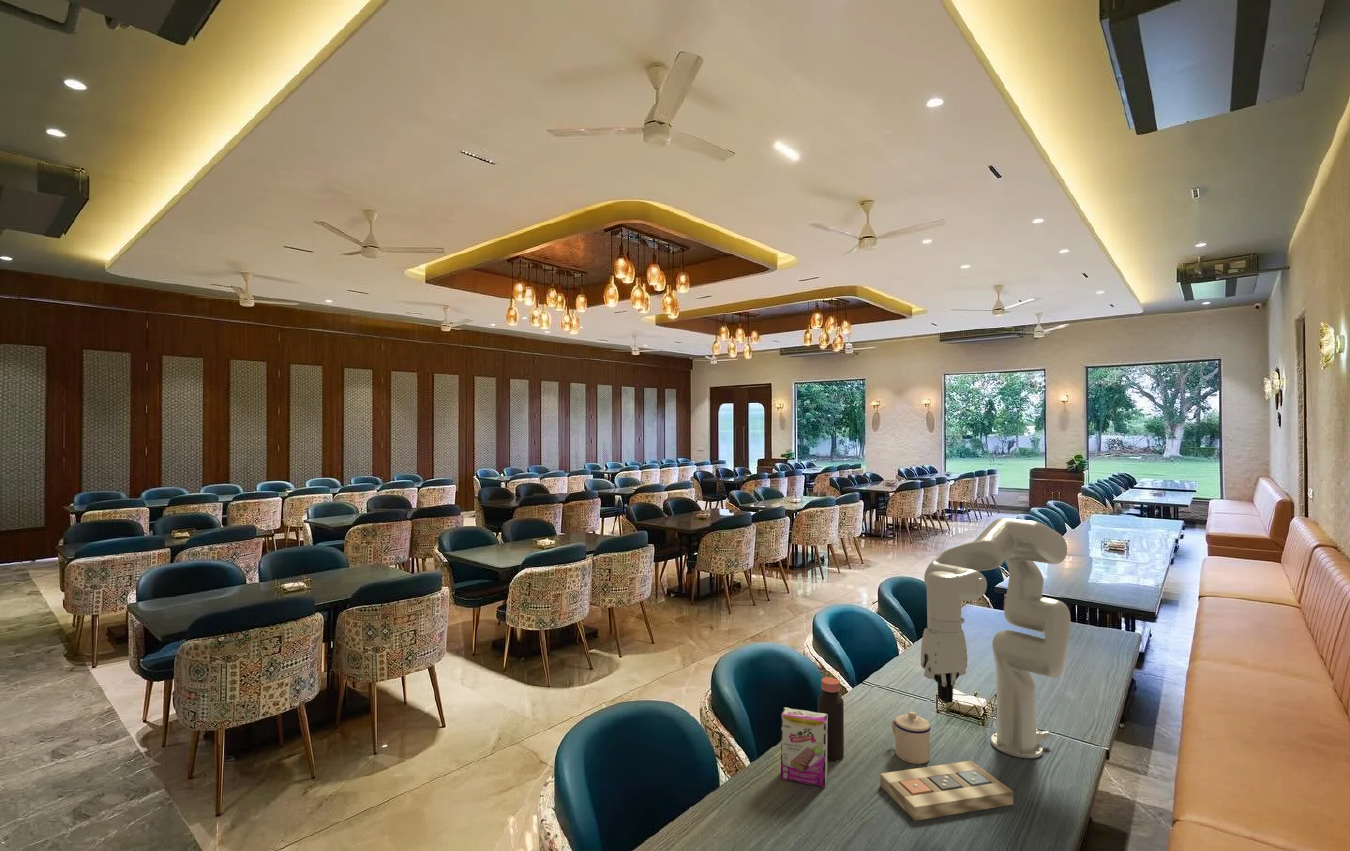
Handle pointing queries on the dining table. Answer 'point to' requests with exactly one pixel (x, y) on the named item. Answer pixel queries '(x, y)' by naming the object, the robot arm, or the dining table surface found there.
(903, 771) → the wooden puzzle board
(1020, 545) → the robot arm
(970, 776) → the key two
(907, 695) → the dining table surface
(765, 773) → the dining table surface
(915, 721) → the teacup with lid
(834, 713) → the bottle
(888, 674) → the dining table surface
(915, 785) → the key one
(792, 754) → the candy bar box
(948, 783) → the key three
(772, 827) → the dining table surface
